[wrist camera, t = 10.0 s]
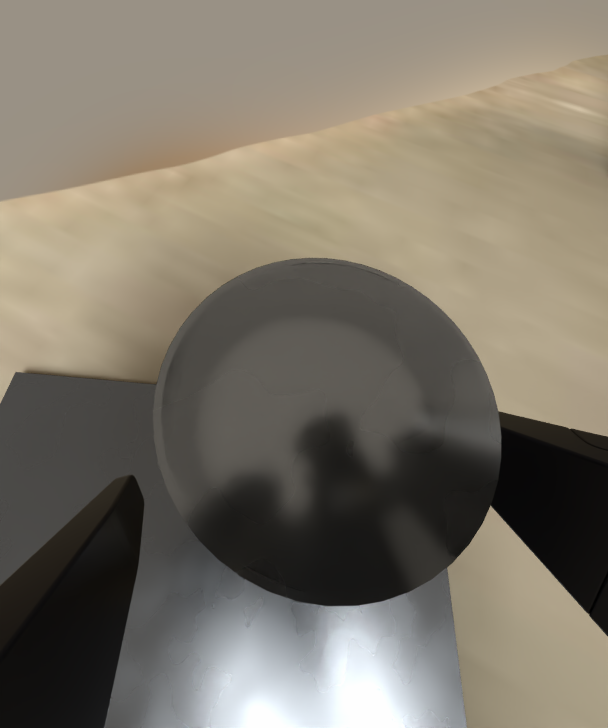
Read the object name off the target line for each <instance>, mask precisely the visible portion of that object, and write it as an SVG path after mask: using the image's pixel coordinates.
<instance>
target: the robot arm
mask: <svg viewBox="0 0 608 728" xmlns="http://www.w3.org/2000/svg"><path fill="white" fill-rule="evenodd" d="M498 413H499V420H500V429H501V462H500V470H499V477H498V482H497V486H496V489H495V493H494V496H493V500H492V503H491V506H492V508H493V509H494V510H495V511H496V512H497V513H498V514H499V515H500V516H501V518H502V519H503V520H504V521H505V522H506V523H507V524H508V525H509V527H510V528H511V529H512V530H513V531H514V532H515V533H516V534H517V535H518V537H519V538H520V539H521V540H522V541H523V542H524V543H525V544H526V545H527V547H528V548H529V549H530V550H531V551H532V552H533V553H534V554H535V556H536V557H537V558H538V559H539V560H540V561H541V562H542V563H543V564H544V566H545V567H546V568H547V569H548V570H549V571H550V572H551V573H552V574H553V576H554V577H555V578H556V579H557V580H558V581H559V582H560V583H561V585H562V586H563V587H564V588H565V589H566V590H567V591H568V592H569V593H570V595H571V596H572V597H573V598H574V599H575V600H576V601H577V602H578V604H579V605H580V606H581V607H582V608H583V609H584V610H585V611H586V612H587V613H588V614H589V616H590V617H591V618H592V619H593V621H594V622H595V623H596V624H597V625H598V626H599V627H600V628H601V629H602V631H603V632H604V633H605V634H606V635H607V636H608V437H606V436H602V435H597V434H593V433H589V432H584V431H580V430H576V429H569V428H567V427H563V426H558V425H554V424H550V423H546V422H541V421H537V420H533V419H528V418H524V417H520V416H516V415H511V414H507V413H503V412H499V411H498ZM143 516H144V498H143V495H142V492H141V490H140V487H139V485H138V482H137V480H136V478H135V476H134V475H127V476H123V477H119V478H116V479H114V480H113V481H112V482H111V483H110V484H109V485H108V486H107V487H106V488H105V489H103V490H102V491H101V492H100V493H99V494H98V495H97V496H96V497H95V498H94V499H93V500H92V501H91V502H89V503H88V504H87V505H86V506H85V507H84V508H83V509H82V510H81V511H80V512H79V513H78V514H76V515H75V516H74V517H73V518H72V519H71V520H70V521H69V522H68V523H67V524H66V525H65V526H64V527H62V528H61V529H60V530H59V531H58V532H57V533H56V534H55V535H54V536H53V537H52V538H51V539H49V540H48V541H47V542H46V543H45V544H44V545H43V546H42V547H41V548H40V549H39V550H38V551H37V552H35V553H34V554H33V555H32V556H31V557H30V558H29V559H28V560H27V561H26V562H25V563H24V564H22V565H21V566H20V567H19V568H18V569H17V570H16V571H15V572H14V573H13V574H12V575H11V576H10V577H8V578H7V579H6V580H5V581H4V582H3V583H2V584H1V585H0V728H105V723H106V718H107V714H108V709H109V704H110V699H111V695H112V690H113V685H114V680H115V676H116V671H117V666H118V661H119V656H120V652H121V647H122V642H123V637H124V633H125V628H126V623H127V618H128V614H129V609H130V604H131V599H132V595H133V590H134V585H135V580H136V576H137V570H138V565H139V557H140V547H141V537H142V526H143Z"/></svg>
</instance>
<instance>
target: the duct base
mask: <svg viewBox="0 0 608 728" xmlns="http://www.w3.org/2000/svg"><path fill="white" fill-rule="evenodd" d="M155 389H156V384H144V383H133V382H122V381H110V380H99V379H88V378H76V377H65V376H54V375H42V374H31V373H20V372H16V373H15V375H14V377H13V379H12V381H11V383H10V385H9V387H8V389H7V391H6V393H5V395H4V397H3V399H2V402H1V404H0V585H1V584H2V583H3V582H4V581H5V580H6V579H7V578H8V577H10V576H11V575H12V574H13V573H14V572H15V571H16V570H17V569H18V568H19V567H20V566H21V565H22V564H24V563H25V562H26V561H27V560H28V559H29V558H30V557H31V556H32V555H33V554H34V553H35V552H37V551H38V550H39V549H40V548H41V547H42V546H43V545H44V544H45V543H46V542H47V541H48V540H49V539H51V538H52V537H53V536H54V535H55V534H56V533H57V532H58V531H59V530H60V529H61V528H62V527H64V526H65V525H66V524H67V523H68V522H69V521H70V520H71V519H72V518H73V517H74V516H75V515H76V514H78V513H79V512H80V511H81V510H82V509H83V508H84V507H85V506H86V505H87V504H88V503H89V502H91V501H92V500H93V499H94V498H95V497H96V496H97V495H98V494H99V493H100V492H101V491H102V490H103V489H105V488H106V487H107V486H108V485H109V484H110V483H111V482H112V481H113V480H114V479H116V478H119V477H123V476H127V475H134V476H135V478H136V480H137V482H138V485H139V487H140V490H141V492H142V495H143V498H144V516H143V526H142V537H141V547H140V557H139V565H138V570H137V576H136V580H135V585H134V590H133V595H132V599H131V604H130V609H129V614H128V618H127V623H126V628H125V633H124V637H123V642H122V647H121V652H120V656H119V661H118V666H117V671H116V676H115V680H114V685H113V690H112V695H111V699H110V704H109V709H108V714H107V718H106V723H105V728H467V725H466V717H465V709H464V701H463V693H462V685H461V677H460V669H459V660H458V652H457V644H456V636H455V628H454V620H453V612H452V604H451V596H450V588H449V580H448V572H447V568H445V569H444V570H443V571H442V572H440V573H439V574H438V575H437V576H435V577H434V578H433V579H432V580H430V581H428V582H426V583H424V584H423V585H421V586H419V587H417V588H415V589H414V590H412V591H410V592H408V593H405V594H402V595H399V596H397V597H394V598H391V599H388V600H385V601H382V602H376V603H370V604H365V605H359V606H322V605H316V604H310V603H304V602H298V601H295V600H292V599H289V598H286V597H283V596H280V595H277V594H274V593H271V592H268V591H266V590H265V589H263V588H261V587H259V586H257V585H255V584H253V583H251V582H249V581H247V580H246V579H244V578H242V577H241V576H239V575H238V574H237V573H235V572H234V571H233V570H231V569H230V568H228V567H227V566H226V565H224V564H223V563H222V562H220V561H219V560H218V559H217V558H216V557H215V556H214V555H213V554H212V553H211V552H210V551H209V550H208V549H207V548H206V547H205V546H204V545H203V544H202V543H201V542H200V541H199V540H198V539H197V537H196V536H195V535H194V533H193V532H192V530H191V529H190V528H189V526H188V525H187V524H186V522H185V521H184V519H183V518H182V517H181V515H180V513H179V511H178V509H177V507H176V506H175V504H174V502H173V500H172V498H171V496H170V494H169V492H168V490H167V487H166V484H165V481H164V478H163V475H162V473H161V470H160V467H159V463H158V458H157V453H156V447H155V442H154V428H153V408H154V398H155Z"/></svg>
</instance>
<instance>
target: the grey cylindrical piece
mask: <svg viewBox="0 0 608 728" xmlns="http://www.w3.org/2000/svg"><path fill="white" fill-rule="evenodd" d="M153 428H154V442H155V447H156V453H157V458H158V463H159V467H160V470H161V473H162V475H163V478H164V481H165V484H166V487H167V490H168V492H169V494H170V496H171V498H172V500H173V502H174V504H175V506H176V507H177V509H178V511H179V513H180V515H181V517H182V518H183V519H184V521H185V522H186V524H187V525H188V526H189V528H190V529H191V530H192V532H193V533H194V535H195V536H196V537H197V539H198V540H199V541H200V542H201V543H202V544H203V545H204V546H205V547H206V548H207V549H208V550H209V551H210V552H211V553H212V554H213V555H214V556H215V557H216V558H217V559H218V560H219V561H220V562H222V563H223V564H224V565H226V566H227V567H228V568H230V569H231V570H233V571H234V572H235V573H237V574H238V575H239V576H241V577H242V578H244V579H246V580H247V581H249V582H251V583H253V584H255V585H257V586H259V587H261V588H263V589H265V590H266V591H268V592H271V593H274V594H277V595H280V596H283V597H286V598H289V599H292V600H295V601H298V602H304V603H310V604H316V605H322V606H359V605H365V604H370V603H376V602H382V601H385V600H388V599H391V598H394V597H397V596H399V595H402V594H405V593H408V592H410V591H412V590H414V589H415V588H417V587H419V586H421V585H423V584H424V583H426V582H428V581H430V580H432V579H433V578H434V577H435V576H437V575H438V574H439V573H440V572H442V571H443V570H444V569H445V568H447V567H448V566H449V565H450V564H452V563H453V562H454V560H455V559H456V558H457V557H458V556H459V555H460V554H461V553H462V552H463V550H464V549H465V548H466V547H467V546H468V545H469V544H470V542H471V540H472V539H473V537H474V536H475V534H476V533H477V531H478V530H479V528H480V526H481V525H482V523H483V521H484V519H485V516H486V514H487V512H488V510H489V507H490V505H491V503H492V500H493V496H494V493H495V489H496V486H497V482H498V477H499V470H500V462H501V429H500V420H499V413H498V409H497V405H496V401H495V396H494V393H493V390H492V387H491V385H490V382H489V379H488V376H487V374H486V372H485V370H484V368H483V366H482V364H481V362H480V359H479V357H478V356H477V354H476V352H475V351H474V349H473V348H472V346H471V344H470V343H469V341H468V340H467V338H466V337H465V336H464V335H463V333H462V332H461V331H460V329H459V328H458V327H457V326H456V324H455V323H454V322H453V321H452V320H451V319H450V318H449V317H448V316H447V315H446V314H445V313H444V312H443V311H442V310H441V309H440V308H439V307H438V306H437V305H436V304H434V303H433V302H432V301H431V300H430V299H429V298H427V297H426V296H424V295H423V294H422V293H420V292H419V291H417V290H416V289H415V288H413V287H412V286H410V285H408V284H406V283H404V282H403V281H401V280H399V279H397V278H395V277H393V276H391V275H389V274H387V273H384V272H382V271H380V270H377V269H374V268H371V267H368V266H365V265H362V264H357V263H353V262H349V261H344V260H336V259H328V258H302V259H291V260H285V261H280V262H275V263H271V264H268V265H265V266H261V267H258V268H255V269H253V270H251V271H248V272H246V273H244V274H241V275H239V276H237V277H236V278H234V279H232V280H231V281H229V282H227V283H226V284H224V285H222V286H221V287H220V288H218V289H217V290H216V291H214V292H213V293H212V294H210V295H209V296H208V297H207V298H206V299H205V300H204V301H203V302H202V303H201V304H200V305H199V306H198V307H197V308H196V309H195V310H194V311H193V312H192V313H191V314H190V316H189V317H188V318H187V319H186V321H185V322H184V323H183V325H182V326H181V327H180V329H179V331H178V332H177V334H176V336H175V337H174V339H173V341H172V343H171V344H170V346H169V349H168V351H167V353H166V356H165V358H164V361H163V363H162V366H161V369H160V373H159V377H158V381H157V385H156V389H155V398H154V408H153Z"/></svg>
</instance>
